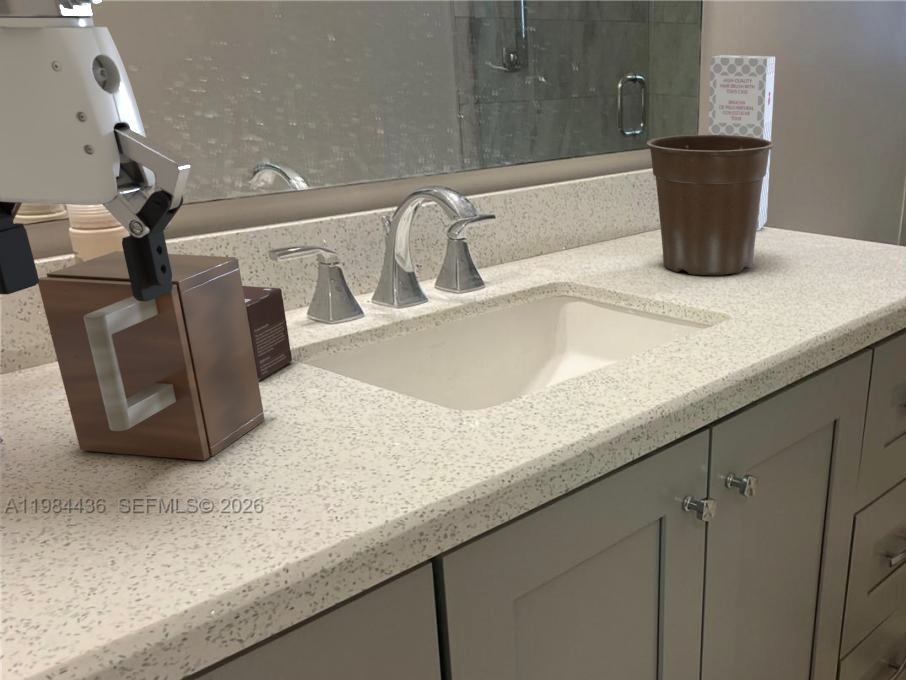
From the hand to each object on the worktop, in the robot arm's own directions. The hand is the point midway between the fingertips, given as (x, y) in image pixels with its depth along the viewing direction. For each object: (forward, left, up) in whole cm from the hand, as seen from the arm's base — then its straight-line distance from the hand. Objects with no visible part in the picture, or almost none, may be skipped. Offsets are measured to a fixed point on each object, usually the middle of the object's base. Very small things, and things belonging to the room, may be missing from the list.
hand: (86, 292), depth 67 cm
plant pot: (+31, +80, -15) cm, 87 cm away
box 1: (-6, +27, -15) cm, 32 cm away
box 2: (+31, +111, -15) cm, 116 cm away
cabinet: (-3, +11, -14) cm, 19 cm away
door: (-3, +3, -14) cm, 15 cm away
